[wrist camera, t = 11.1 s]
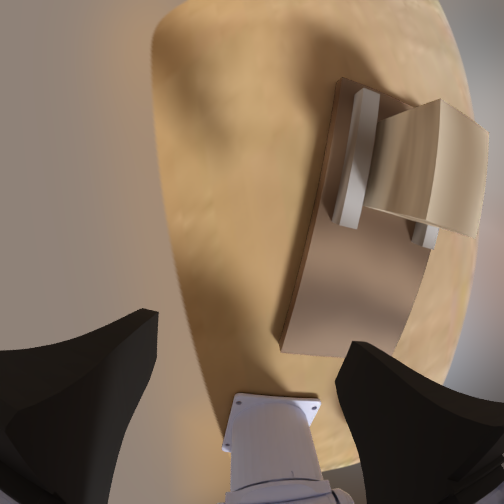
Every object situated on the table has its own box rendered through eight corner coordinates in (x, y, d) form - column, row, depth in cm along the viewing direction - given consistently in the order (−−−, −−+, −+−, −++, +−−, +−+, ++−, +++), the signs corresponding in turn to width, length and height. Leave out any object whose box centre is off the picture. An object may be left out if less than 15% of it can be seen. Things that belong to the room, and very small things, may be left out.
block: (421, 141, 16) (488, 132, 9) (408, 219, 17) (475, 239, 10) (377, 122, 16) (440, 98, 9) (362, 205, 17) (425, 220, 10)
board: (384, 351, 21) (397, 368, 19) (278, 343, 20) (283, 364, 18) (441, 129, 17) (462, 125, 14) (336, 82, 16) (350, 69, 13)
